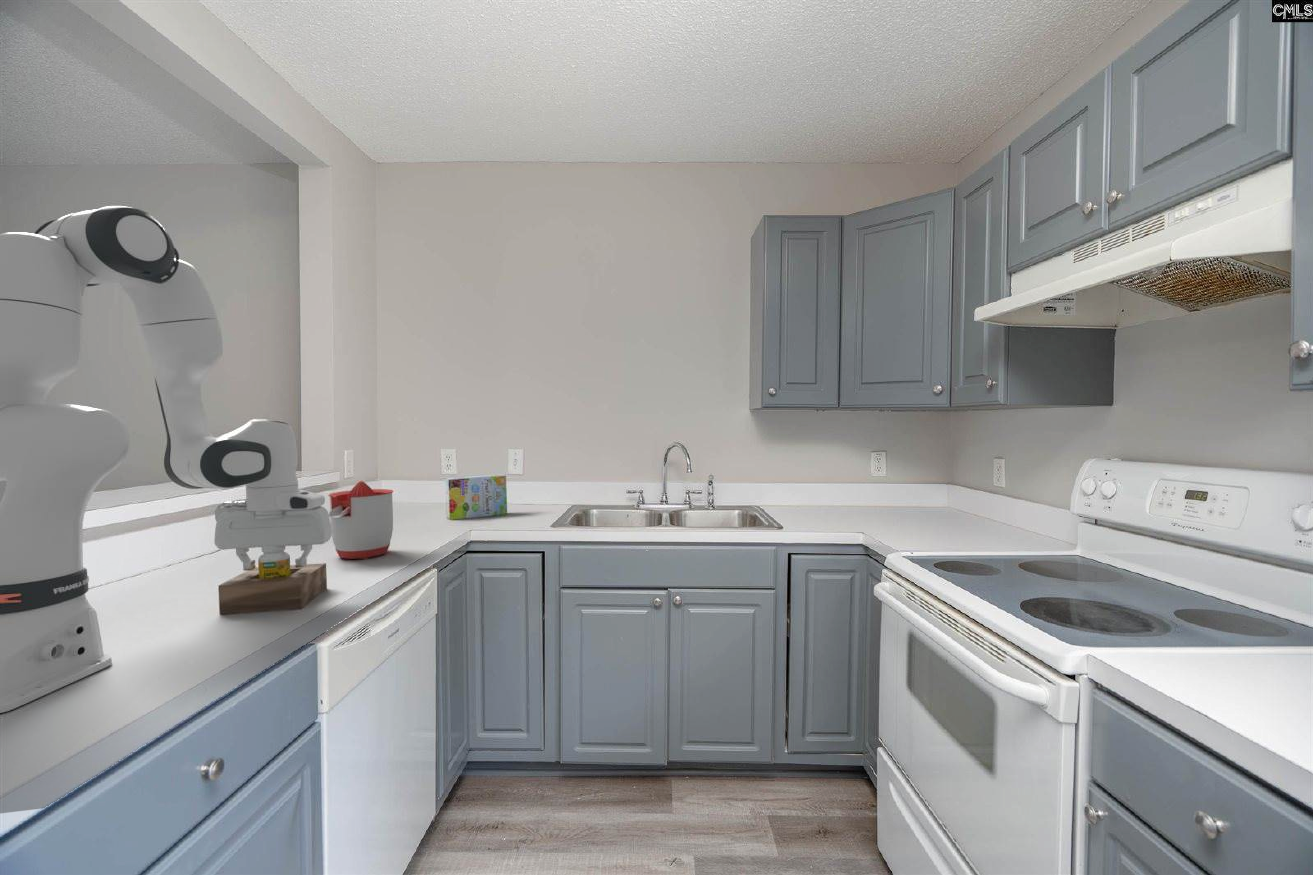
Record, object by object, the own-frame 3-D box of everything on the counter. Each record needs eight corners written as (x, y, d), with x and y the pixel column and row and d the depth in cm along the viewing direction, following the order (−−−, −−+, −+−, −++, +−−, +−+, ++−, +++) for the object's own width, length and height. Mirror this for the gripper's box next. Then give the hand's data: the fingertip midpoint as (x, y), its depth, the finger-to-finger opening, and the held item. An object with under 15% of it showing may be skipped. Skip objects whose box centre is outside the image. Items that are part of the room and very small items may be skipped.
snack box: (503, 512, 229) (502, 474, 229) (507, 514, 224) (506, 475, 224) (446, 518, 218) (445, 477, 218) (449, 520, 213) (448, 478, 213)
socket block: (301, 608, 114) (300, 580, 114) (219, 614, 111) (218, 585, 111) (326, 588, 128) (326, 563, 127) (254, 593, 125) (253, 567, 125)
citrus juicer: (310, 562, 152) (308, 484, 152) (361, 547, 169) (358, 477, 168) (361, 565, 148) (358, 485, 148) (407, 550, 165) (405, 478, 164)
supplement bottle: (290, 585, 123) (288, 539, 123) (292, 591, 119) (290, 544, 118) (259, 590, 120) (257, 543, 120) (259, 596, 116) (257, 547, 115)
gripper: (205, 504, 114) (208, 575, 114) (322, 499, 118) (324, 569, 118) (223, 500, 120) (225, 567, 120) (332, 496, 124) (335, 561, 124)
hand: (275, 568), depth 119 cm, fingers open, 8 cm apart
